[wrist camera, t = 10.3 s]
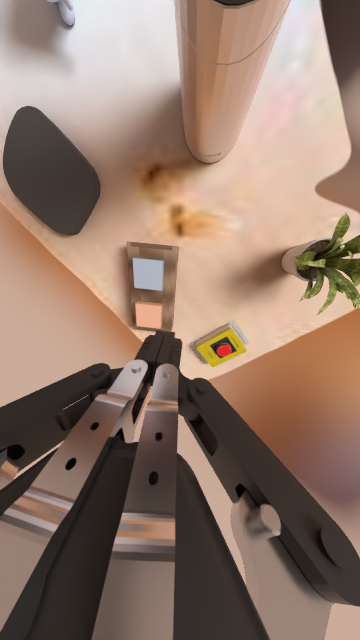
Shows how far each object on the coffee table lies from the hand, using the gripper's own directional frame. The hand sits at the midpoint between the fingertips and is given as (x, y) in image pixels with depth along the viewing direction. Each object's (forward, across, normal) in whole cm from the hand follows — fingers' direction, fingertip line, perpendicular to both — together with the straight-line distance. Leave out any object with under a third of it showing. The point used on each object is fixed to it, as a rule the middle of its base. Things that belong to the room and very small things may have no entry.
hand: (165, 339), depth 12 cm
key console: (+24, +7, +3) cm, 26 cm away
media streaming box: (+26, +27, -16) cm, 40 cm away
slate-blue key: (+22, +7, -1) cm, 23 cm away
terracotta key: (+22, +7, +8) cm, 24 cm away
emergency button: (+25, -12, +17) cm, 33 cm away
